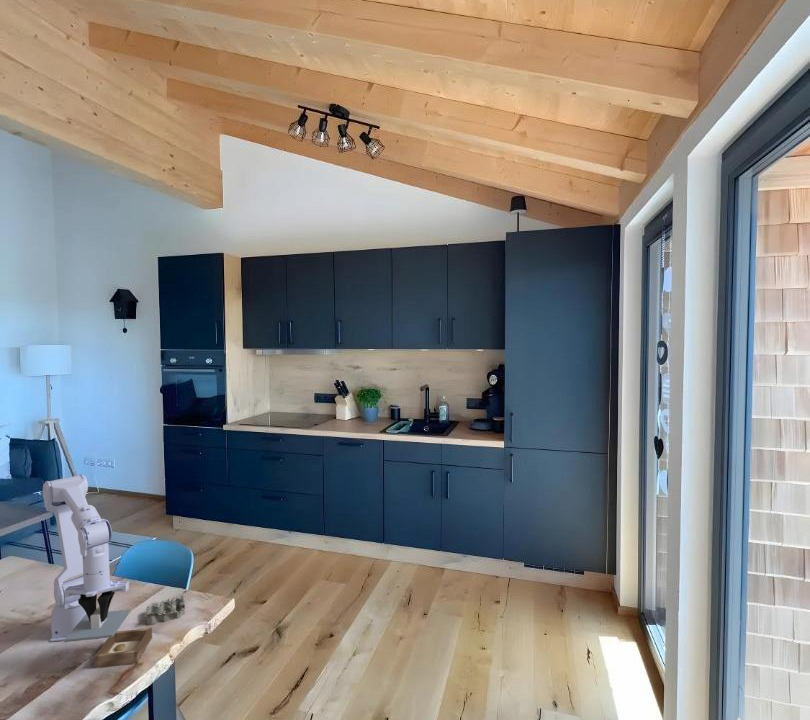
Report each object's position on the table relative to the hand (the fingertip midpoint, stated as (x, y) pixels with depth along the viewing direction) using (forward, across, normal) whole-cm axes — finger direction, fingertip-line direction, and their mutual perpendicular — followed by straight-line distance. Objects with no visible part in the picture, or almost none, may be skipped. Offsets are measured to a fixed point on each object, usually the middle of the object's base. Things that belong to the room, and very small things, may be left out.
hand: (98, 619), depth 121 cm
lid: (+2, 0, 0) cm, 2 cm away
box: (+10, +6, +1) cm, 12 cm away
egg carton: (+11, +11, +17) cm, 23 cm away
